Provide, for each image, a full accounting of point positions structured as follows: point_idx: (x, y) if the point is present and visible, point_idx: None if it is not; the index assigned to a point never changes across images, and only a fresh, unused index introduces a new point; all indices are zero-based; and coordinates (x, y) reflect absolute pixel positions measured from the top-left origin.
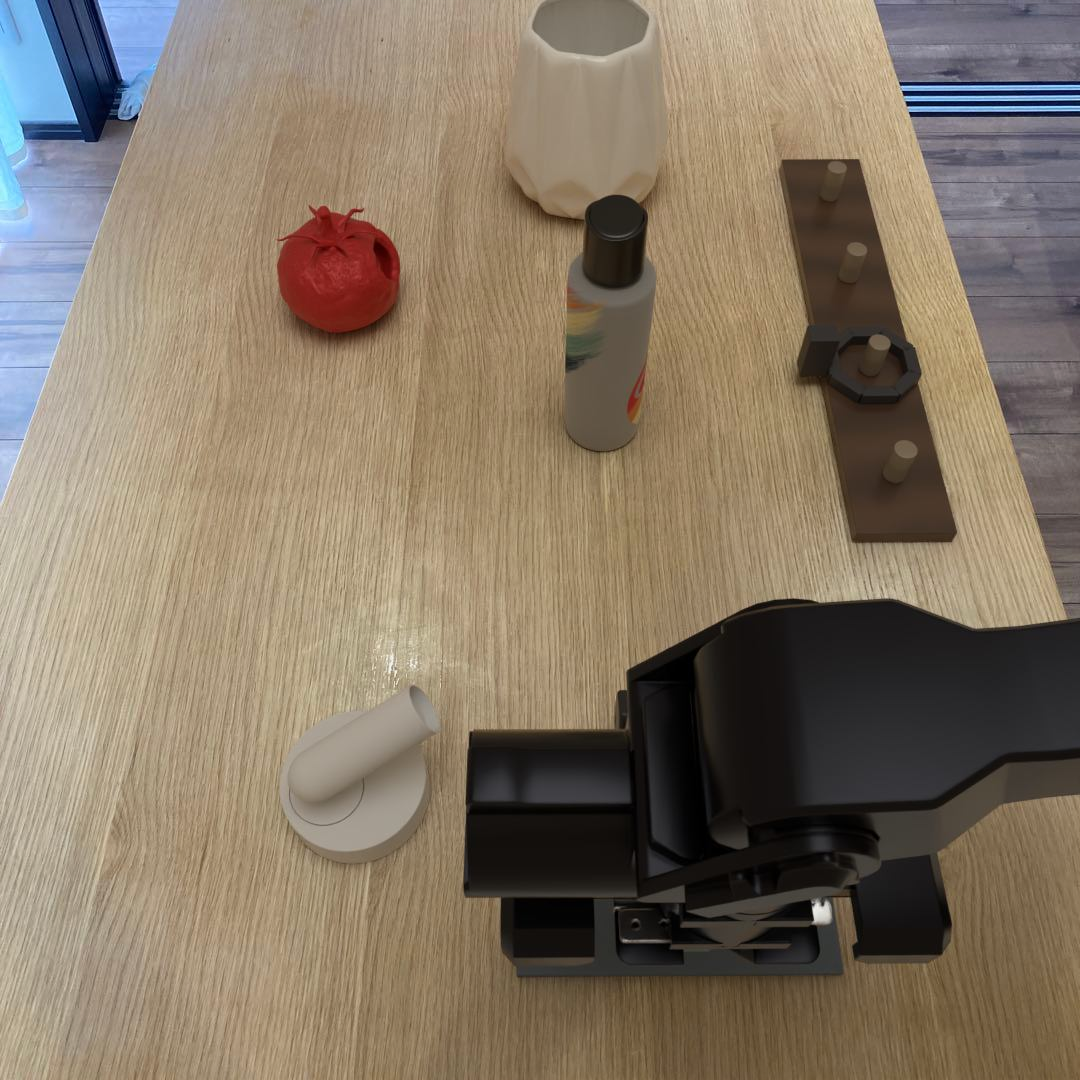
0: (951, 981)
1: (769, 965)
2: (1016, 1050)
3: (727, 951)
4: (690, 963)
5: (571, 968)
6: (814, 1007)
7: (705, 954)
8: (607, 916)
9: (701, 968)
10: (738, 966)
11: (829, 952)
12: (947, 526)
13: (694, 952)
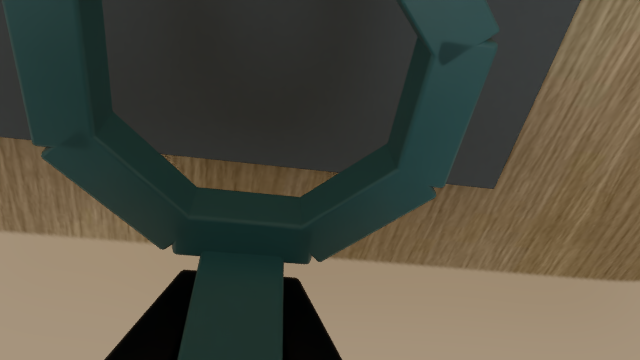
0: (622, 201)
1: None
2: (635, 266)
3: (335, 142)
4: (270, 152)
5: None
6: (432, 208)
7: (298, 142)
8: (128, 62)
9: (287, 160)
10: (345, 165)
11: (489, 163)
12: None
13: (281, 137)
